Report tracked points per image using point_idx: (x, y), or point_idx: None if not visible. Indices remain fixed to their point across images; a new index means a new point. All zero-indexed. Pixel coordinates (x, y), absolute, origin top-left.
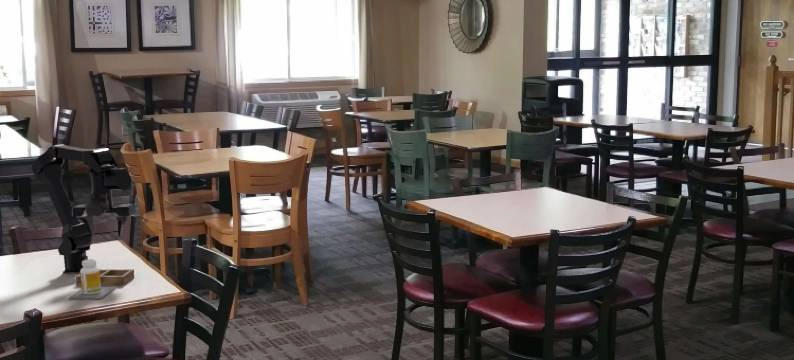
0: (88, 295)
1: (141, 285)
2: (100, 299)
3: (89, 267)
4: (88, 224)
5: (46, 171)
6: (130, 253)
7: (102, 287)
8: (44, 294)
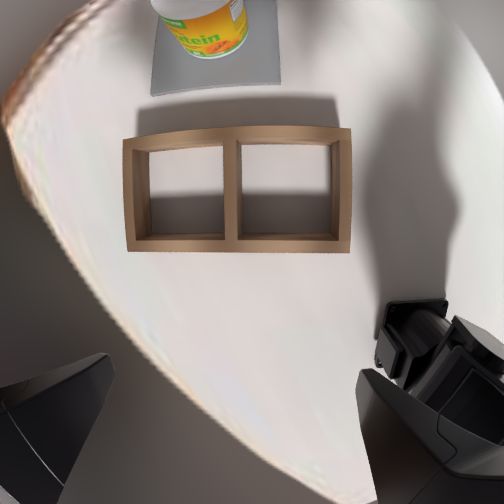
0: None
1: (88, 154)
2: None
3: None
4: (426, 446)
5: None
6: (293, 472)
7: (198, 84)
8: (394, 45)
